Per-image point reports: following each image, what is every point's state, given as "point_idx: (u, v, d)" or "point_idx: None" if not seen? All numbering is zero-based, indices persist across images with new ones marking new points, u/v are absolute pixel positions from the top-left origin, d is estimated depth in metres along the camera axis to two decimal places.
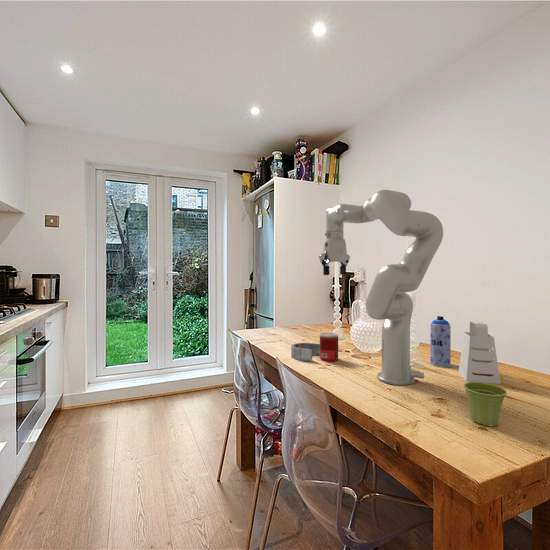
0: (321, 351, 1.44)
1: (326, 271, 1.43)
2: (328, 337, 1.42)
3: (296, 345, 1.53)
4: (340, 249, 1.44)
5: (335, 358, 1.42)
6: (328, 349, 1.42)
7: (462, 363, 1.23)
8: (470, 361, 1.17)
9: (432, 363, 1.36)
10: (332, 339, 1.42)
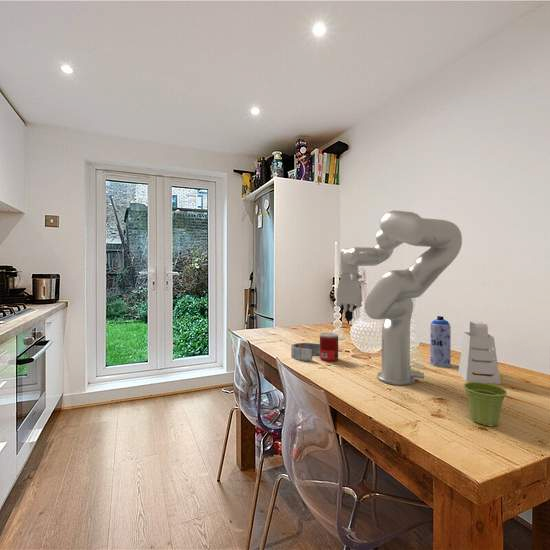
0: (321, 351, 1.44)
1: None
2: (328, 337, 1.42)
3: (296, 345, 1.53)
4: None
5: (335, 358, 1.42)
6: (328, 349, 1.42)
7: (462, 363, 1.23)
8: (470, 361, 1.17)
9: (432, 363, 1.36)
10: (332, 339, 1.42)
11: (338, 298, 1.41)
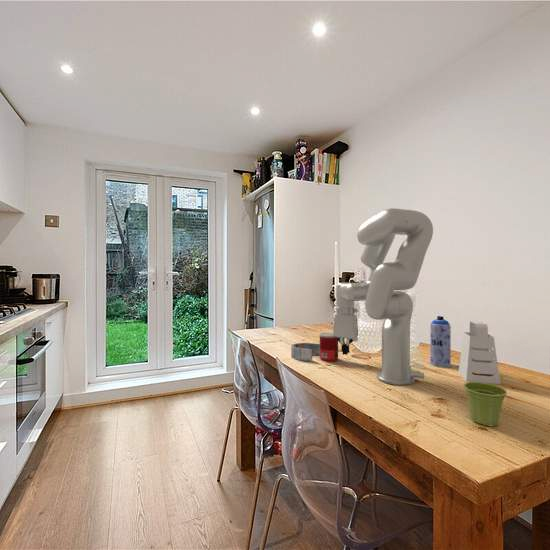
0: (321, 351, 1.44)
1: None
2: (328, 337, 1.42)
3: (296, 345, 1.53)
4: None
5: (335, 358, 1.42)
6: (328, 349, 1.42)
7: (462, 363, 1.23)
8: (470, 361, 1.17)
9: (432, 363, 1.36)
10: (332, 339, 1.42)
11: (334, 332, 1.42)
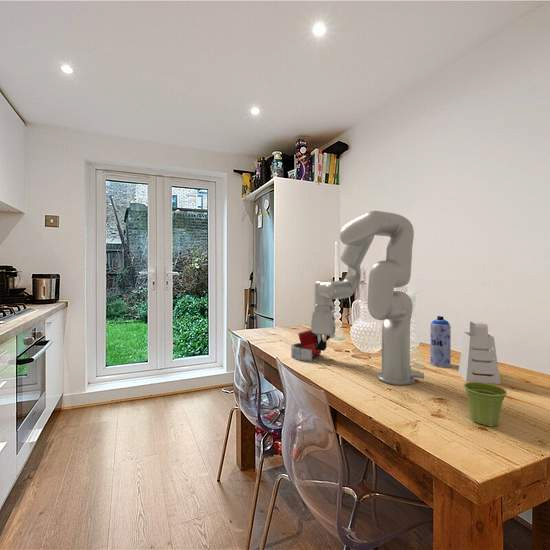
0: None
1: None
2: (304, 332, 1.47)
3: (296, 345, 1.53)
4: None
5: (316, 351, 1.46)
6: (307, 344, 1.46)
7: (462, 363, 1.23)
8: (470, 361, 1.17)
9: (432, 363, 1.36)
10: (308, 333, 1.47)
11: (312, 328, 1.47)
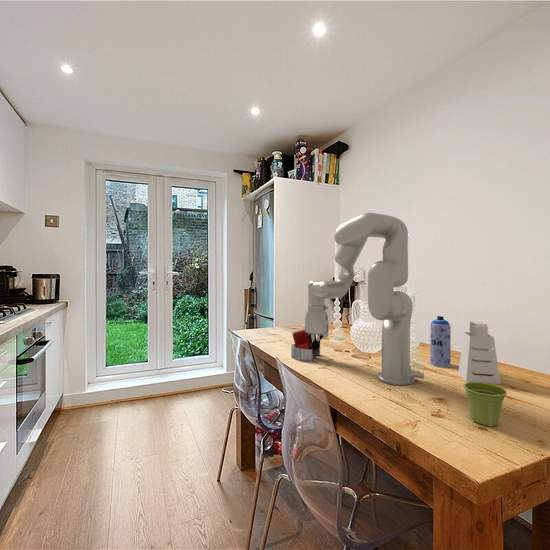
0: None
1: None
2: (298, 332, 1.49)
3: None
4: None
5: None
6: (300, 343, 1.48)
7: (462, 363, 1.23)
8: (470, 361, 1.17)
9: (432, 363, 1.36)
10: (302, 332, 1.48)
11: (306, 328, 1.48)
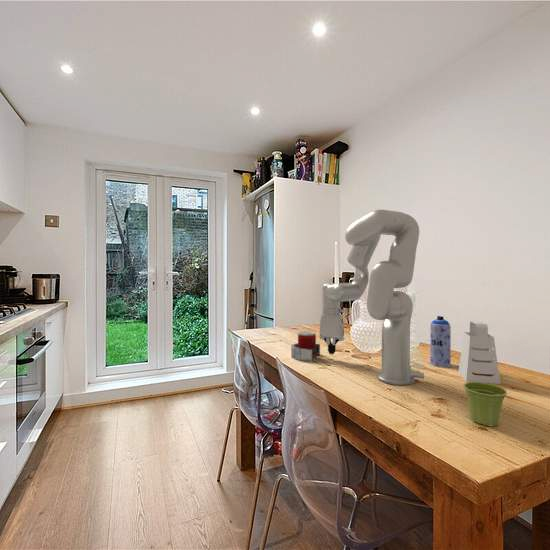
0: None
1: None
2: (304, 335, 1.46)
3: (296, 345, 1.53)
4: None
5: None
6: (304, 347, 1.46)
7: (462, 363, 1.23)
8: (470, 361, 1.17)
9: (432, 363, 1.36)
10: (308, 337, 1.46)
11: (321, 332, 1.45)
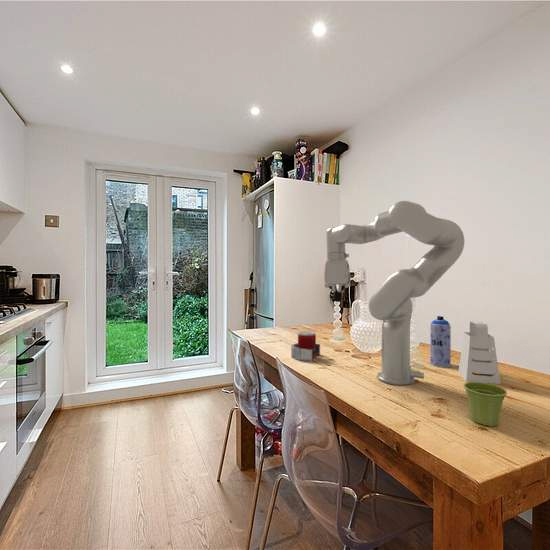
0: None
1: None
2: (304, 335, 1.46)
3: (296, 345, 1.53)
4: None
5: None
6: (304, 347, 1.46)
7: (462, 363, 1.23)
8: (470, 361, 1.17)
9: (432, 363, 1.36)
10: (308, 337, 1.46)
11: (326, 279, 1.38)
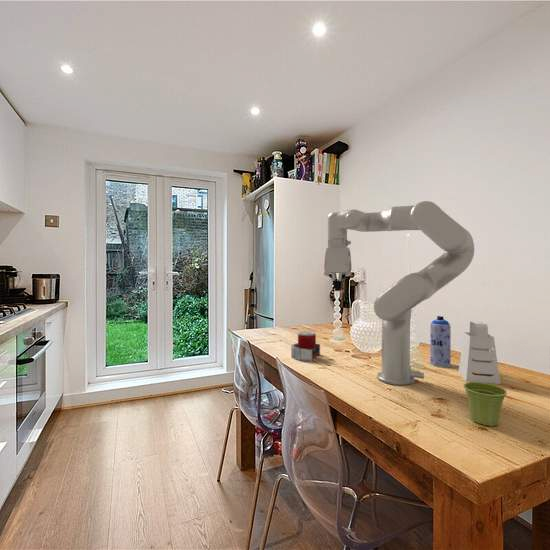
0: None
1: None
2: (304, 335, 1.46)
3: (296, 345, 1.53)
4: None
5: None
6: (304, 347, 1.46)
7: (462, 363, 1.23)
8: (470, 361, 1.17)
9: (432, 363, 1.36)
10: (308, 337, 1.46)
11: (326, 266, 1.31)
